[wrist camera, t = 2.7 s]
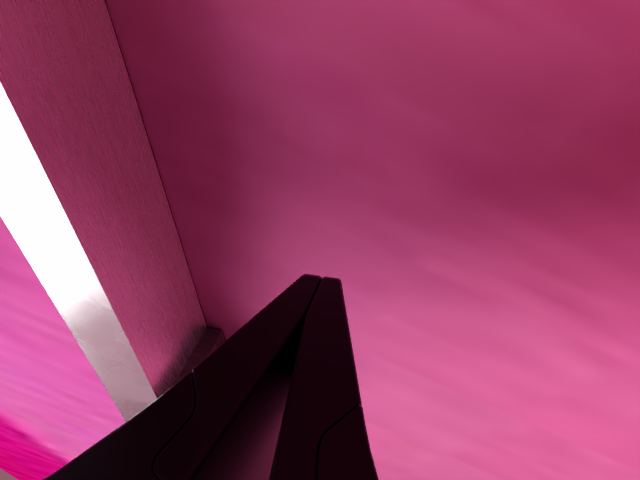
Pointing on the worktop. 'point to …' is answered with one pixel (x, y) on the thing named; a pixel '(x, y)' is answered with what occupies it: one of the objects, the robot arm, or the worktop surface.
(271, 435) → the robot arm
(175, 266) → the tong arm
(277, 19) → the worktop surface
